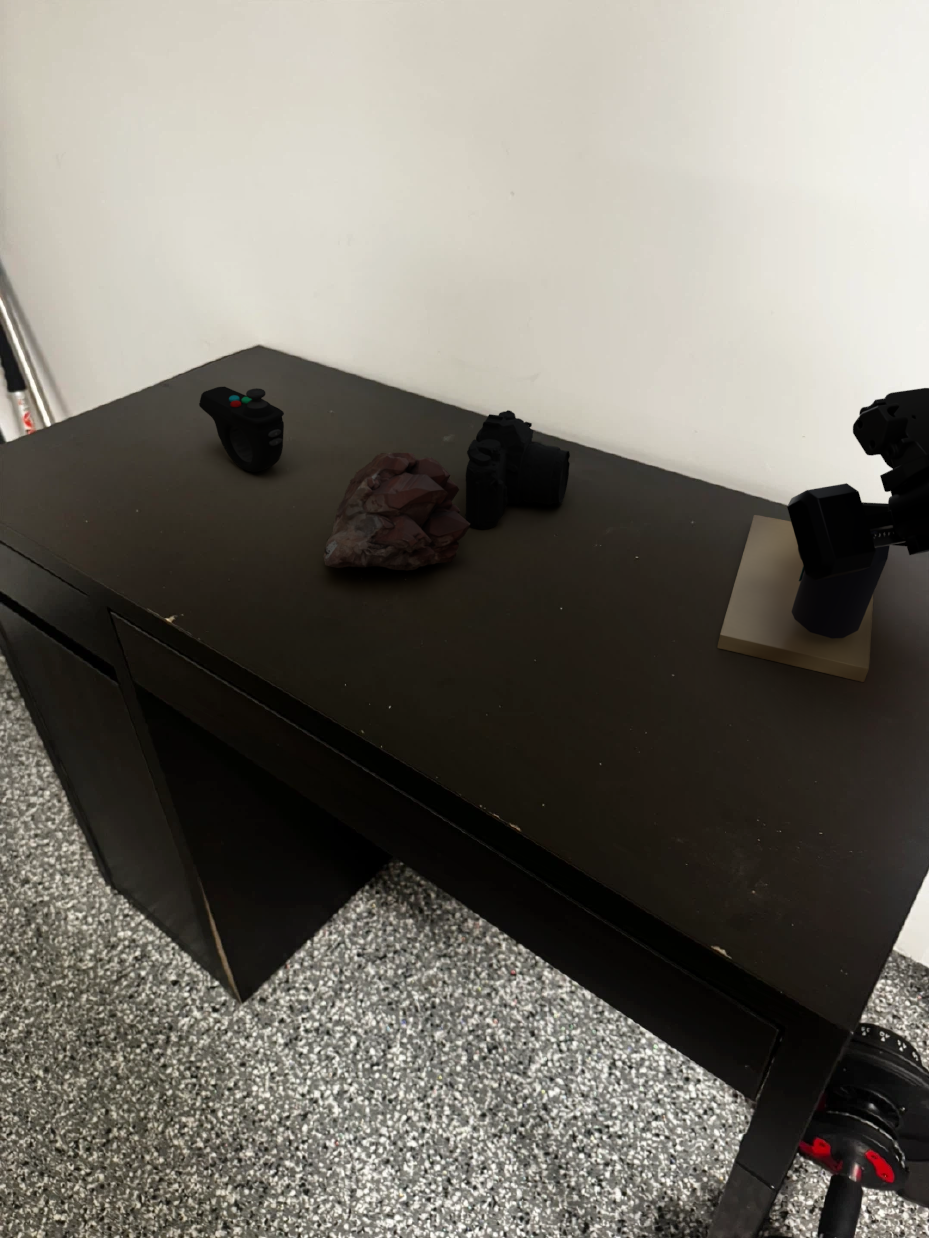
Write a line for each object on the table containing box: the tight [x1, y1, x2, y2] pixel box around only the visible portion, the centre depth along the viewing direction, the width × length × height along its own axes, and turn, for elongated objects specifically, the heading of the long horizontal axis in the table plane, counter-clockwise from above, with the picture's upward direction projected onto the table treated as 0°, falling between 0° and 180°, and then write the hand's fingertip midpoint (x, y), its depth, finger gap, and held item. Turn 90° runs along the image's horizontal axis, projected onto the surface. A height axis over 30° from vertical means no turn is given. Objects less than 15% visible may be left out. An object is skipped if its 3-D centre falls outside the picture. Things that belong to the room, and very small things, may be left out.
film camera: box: [464, 409, 571, 530], centre depth 95 cm, size 15×10×9 cm, turn 163°
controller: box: [198, 386, 285, 473], centre depth 101 cm, size 4×12×10 cm, turn 47°
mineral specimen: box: [322, 452, 471, 572], centre depth 85 cm, size 12×13×15 cm
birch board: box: [716, 514, 875, 683], centre depth 83 cm, size 12×22×2 cm, turn 158°
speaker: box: [792, 501, 893, 639], centre depth 73 cm, size 8×6×10 cm
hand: (842, 545), depth 72 cm, fingers closed on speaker, 7 cm apart
